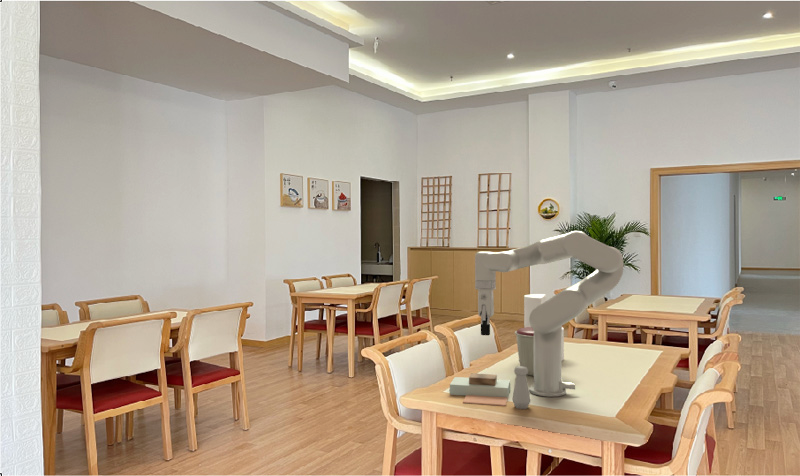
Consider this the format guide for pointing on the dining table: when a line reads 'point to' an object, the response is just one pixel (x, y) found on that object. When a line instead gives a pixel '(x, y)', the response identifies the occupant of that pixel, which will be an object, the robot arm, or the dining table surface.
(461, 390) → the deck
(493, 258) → the robot arm
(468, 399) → the mat
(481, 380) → the brown wooden block
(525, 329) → the canister
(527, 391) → the salt shaker
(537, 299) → the white tall block
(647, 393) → the dining table surface
